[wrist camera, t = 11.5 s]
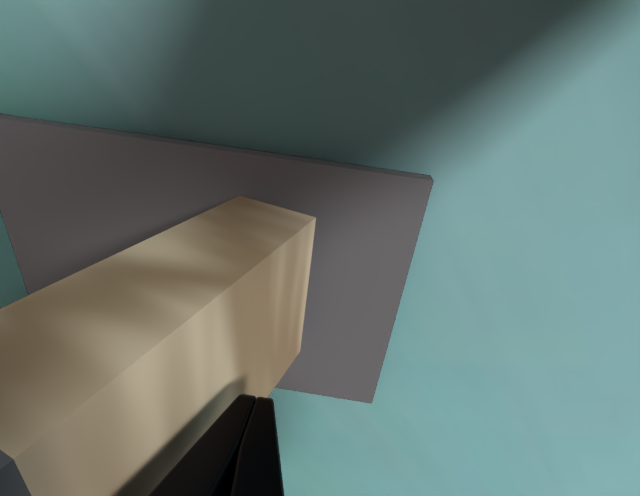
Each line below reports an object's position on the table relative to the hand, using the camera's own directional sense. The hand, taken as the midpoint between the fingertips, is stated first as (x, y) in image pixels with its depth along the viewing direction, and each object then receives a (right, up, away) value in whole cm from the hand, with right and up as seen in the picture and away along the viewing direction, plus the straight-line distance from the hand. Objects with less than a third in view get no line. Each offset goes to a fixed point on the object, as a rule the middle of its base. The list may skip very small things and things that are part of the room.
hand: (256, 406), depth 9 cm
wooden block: (0, +3, +5) cm, 6 cm away
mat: (-3, +3, +6) cm, 8 cm away
